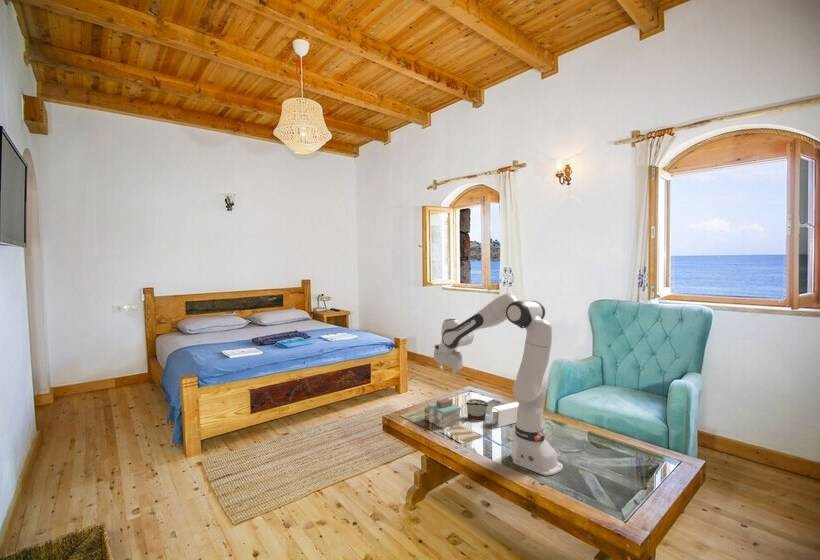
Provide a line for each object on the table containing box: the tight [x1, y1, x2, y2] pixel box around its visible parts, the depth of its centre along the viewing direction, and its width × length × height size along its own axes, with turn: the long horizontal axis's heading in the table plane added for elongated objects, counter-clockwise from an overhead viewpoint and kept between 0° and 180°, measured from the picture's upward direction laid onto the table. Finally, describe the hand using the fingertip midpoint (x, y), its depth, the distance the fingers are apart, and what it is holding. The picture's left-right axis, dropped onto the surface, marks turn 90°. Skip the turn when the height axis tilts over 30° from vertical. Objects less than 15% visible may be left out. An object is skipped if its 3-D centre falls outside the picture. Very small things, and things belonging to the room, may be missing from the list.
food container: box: [465, 398, 489, 422], centre depth 225 cm, size 12×6×10 cm, turn 84°
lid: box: [427, 397, 462, 414], centre depth 216 cm, size 13×13×5 cm
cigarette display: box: [491, 401, 519, 428], centre depth 220 cm, size 20×6×9 cm, turn 122°
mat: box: [445, 425, 482, 443], centre depth 202 cm, size 16×14×1 cm
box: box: [427, 407, 461, 429], centre depth 217 cm, size 12×12×8 cm
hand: (447, 373), depth 215 cm, fingers open, 8 cm apart
